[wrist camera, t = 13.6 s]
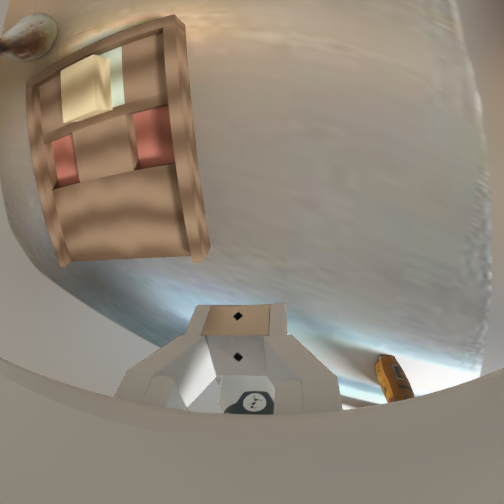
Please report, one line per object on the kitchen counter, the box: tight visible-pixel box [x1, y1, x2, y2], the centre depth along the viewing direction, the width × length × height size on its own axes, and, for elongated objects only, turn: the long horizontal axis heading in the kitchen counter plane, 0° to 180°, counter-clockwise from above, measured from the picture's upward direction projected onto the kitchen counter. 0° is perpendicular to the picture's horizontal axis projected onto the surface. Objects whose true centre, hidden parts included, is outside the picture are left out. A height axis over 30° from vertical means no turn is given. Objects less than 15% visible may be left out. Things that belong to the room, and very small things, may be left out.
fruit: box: [0, 12, 57, 62], centre depth 20 cm, size 10×9×12 cm
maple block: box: [61, 54, 113, 123], centre depth 27 cm, size 8×6×4 cm
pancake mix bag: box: [375, 355, 414, 403], centre depth 38 cm, size 7×19×28 cm, turn 36°
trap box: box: [26, 15, 210, 267], centre depth 33 cm, size 33×27×4 cm
